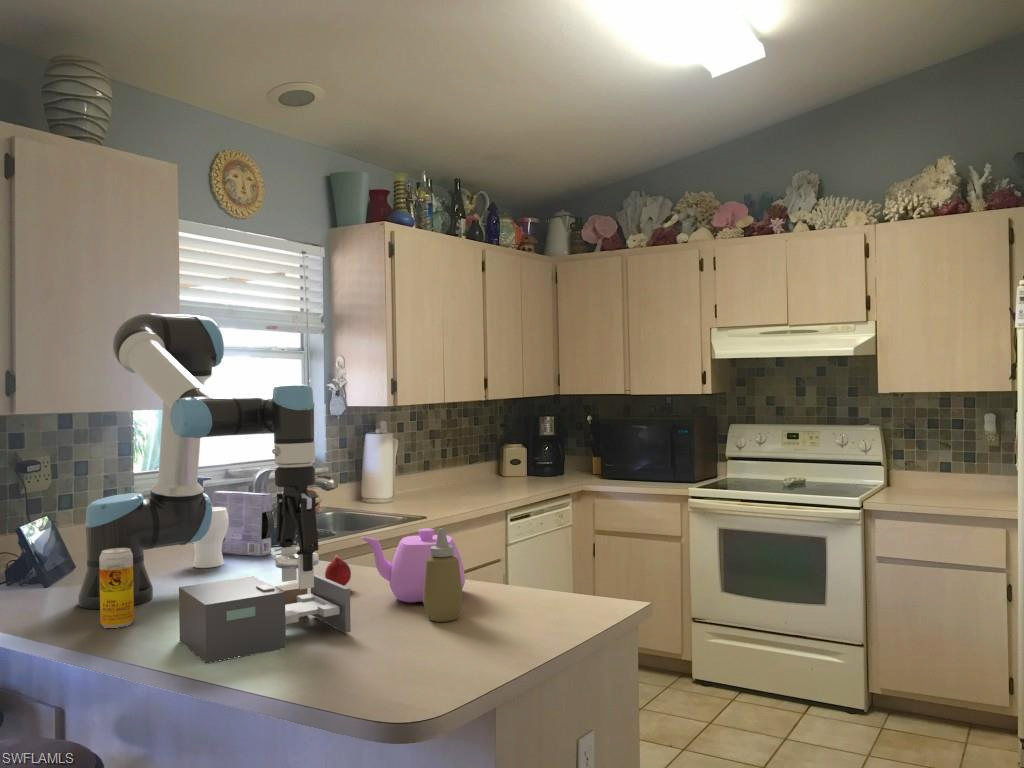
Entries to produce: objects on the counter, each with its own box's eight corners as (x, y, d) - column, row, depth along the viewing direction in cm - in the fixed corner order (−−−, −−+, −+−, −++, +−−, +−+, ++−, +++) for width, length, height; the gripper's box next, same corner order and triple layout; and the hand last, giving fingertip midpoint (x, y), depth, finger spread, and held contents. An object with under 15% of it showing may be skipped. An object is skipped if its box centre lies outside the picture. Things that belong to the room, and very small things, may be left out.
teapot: (462, 583, 202) (461, 519, 202) (467, 605, 181) (465, 534, 181) (365, 587, 200) (364, 522, 200) (358, 610, 179) (356, 538, 179)
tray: (248, 626, 166) (247, 584, 166) (315, 614, 174) (315, 573, 174) (279, 646, 153) (278, 600, 153) (350, 631, 161) (349, 588, 161)
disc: (308, 558, 169) (308, 550, 169) (325, 564, 162) (325, 556, 162) (269, 564, 164) (269, 555, 164) (284, 570, 158) (284, 561, 158)
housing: (179, 640, 159) (178, 585, 159) (254, 627, 167) (253, 574, 167) (206, 663, 145) (205, 602, 145) (286, 648, 153) (285, 590, 153)
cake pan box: (275, 553, 244) (274, 491, 244) (264, 557, 239) (263, 494, 239) (222, 550, 251) (221, 490, 251) (210, 553, 246) (209, 492, 247)
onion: (354, 587, 200) (353, 553, 200) (346, 593, 194) (346, 557, 194) (329, 587, 200) (329, 553, 200) (322, 593, 195) (321, 558, 195)
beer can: (101, 631, 166) (99, 554, 167) (100, 623, 172) (98, 549, 172) (135, 626, 169) (133, 551, 169) (132, 619, 175) (131, 546, 175)
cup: (178, 568, 225) (177, 511, 226) (204, 560, 236) (203, 506, 236) (213, 570, 222) (212, 512, 222) (237, 562, 233) (236, 507, 233)
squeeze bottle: (469, 614, 173) (467, 526, 173) (454, 625, 165) (452, 532, 166) (433, 612, 176) (431, 524, 176) (416, 622, 168) (414, 531, 168)
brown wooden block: (275, 615, 176) (274, 586, 176) (298, 611, 179) (298, 582, 179) (284, 620, 172) (283, 590, 172) (308, 616, 174) (307, 586, 174)
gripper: (257, 463, 170) (259, 578, 169) (296, 469, 153) (299, 597, 153) (293, 461, 174) (296, 573, 174) (335, 466, 157) (338, 590, 157)
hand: (297, 584), depth 163 cm, fingers closed on disc, 8 cm apart
